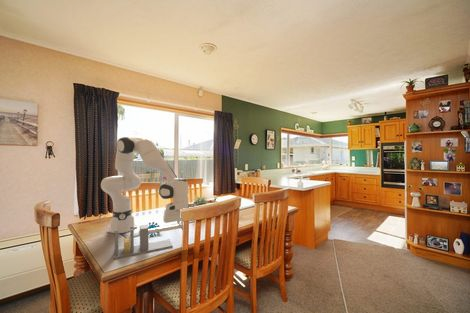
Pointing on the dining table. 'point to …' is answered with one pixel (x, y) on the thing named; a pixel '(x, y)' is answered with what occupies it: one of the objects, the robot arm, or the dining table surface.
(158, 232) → the gear
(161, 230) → the shaft
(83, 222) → the dining table surface
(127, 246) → the spacer
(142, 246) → the bearing base
